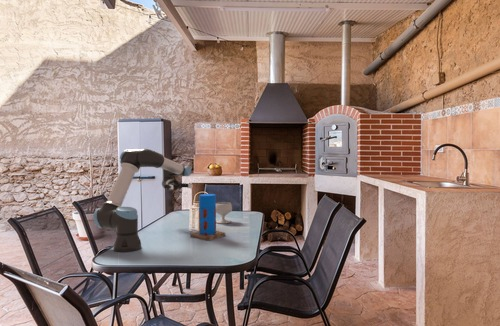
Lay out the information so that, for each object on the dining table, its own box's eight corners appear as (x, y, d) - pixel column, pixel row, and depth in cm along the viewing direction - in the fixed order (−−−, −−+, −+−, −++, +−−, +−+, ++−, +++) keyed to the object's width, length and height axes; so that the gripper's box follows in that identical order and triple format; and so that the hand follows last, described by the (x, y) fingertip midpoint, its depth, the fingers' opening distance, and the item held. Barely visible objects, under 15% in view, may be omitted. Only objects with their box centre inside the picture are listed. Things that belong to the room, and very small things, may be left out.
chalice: (210, 222, 272) (210, 203, 271) (225, 219, 281) (225, 201, 280) (221, 224, 261) (221, 205, 261) (235, 222, 270) (235, 203, 270)
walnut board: (208, 240, 215) (208, 237, 215) (190, 236, 225) (190, 233, 225) (225, 235, 228) (225, 232, 228) (207, 232, 238) (207, 229, 238)
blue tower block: (213, 235, 220) (212, 196, 219) (197, 234, 222) (196, 195, 221) (217, 231, 231) (217, 194, 230) (202, 230, 233) (202, 193, 232)
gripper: (188, 189, 259) (199, 191, 241) (155, 190, 246) (164, 193, 228) (188, 179, 259) (199, 180, 241) (155, 180, 246) (164, 182, 228)
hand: (182, 186), depth 234 cm, fingers open, 13 cm apart
